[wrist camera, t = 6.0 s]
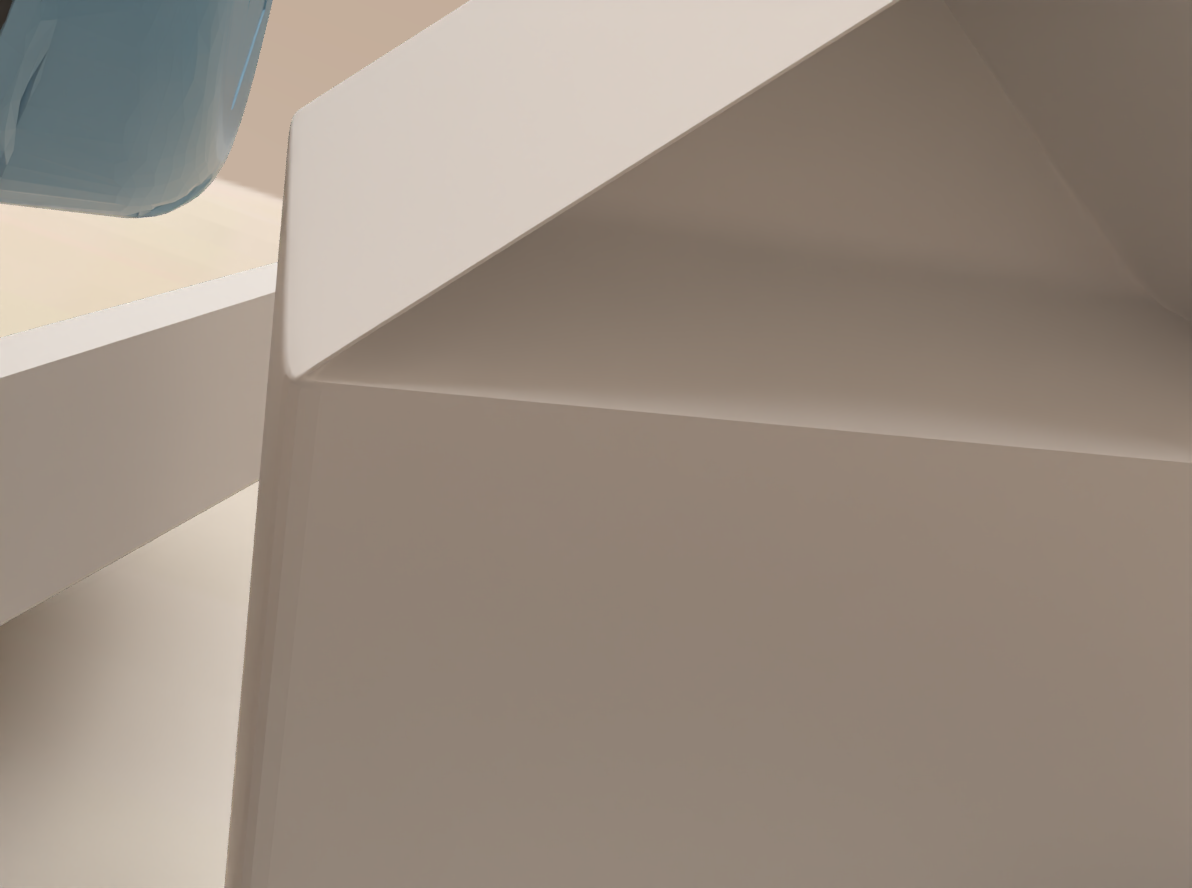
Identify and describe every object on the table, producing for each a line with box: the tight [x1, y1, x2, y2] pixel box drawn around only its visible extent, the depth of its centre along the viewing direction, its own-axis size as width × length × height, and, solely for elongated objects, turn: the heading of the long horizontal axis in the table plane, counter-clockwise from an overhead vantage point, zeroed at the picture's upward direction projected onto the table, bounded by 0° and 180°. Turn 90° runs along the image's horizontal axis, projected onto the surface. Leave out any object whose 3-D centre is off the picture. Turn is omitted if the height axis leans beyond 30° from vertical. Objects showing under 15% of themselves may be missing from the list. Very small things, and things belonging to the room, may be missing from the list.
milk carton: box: [224, 0, 1192, 888], centre depth 11 cm, size 7×7×19 cm
